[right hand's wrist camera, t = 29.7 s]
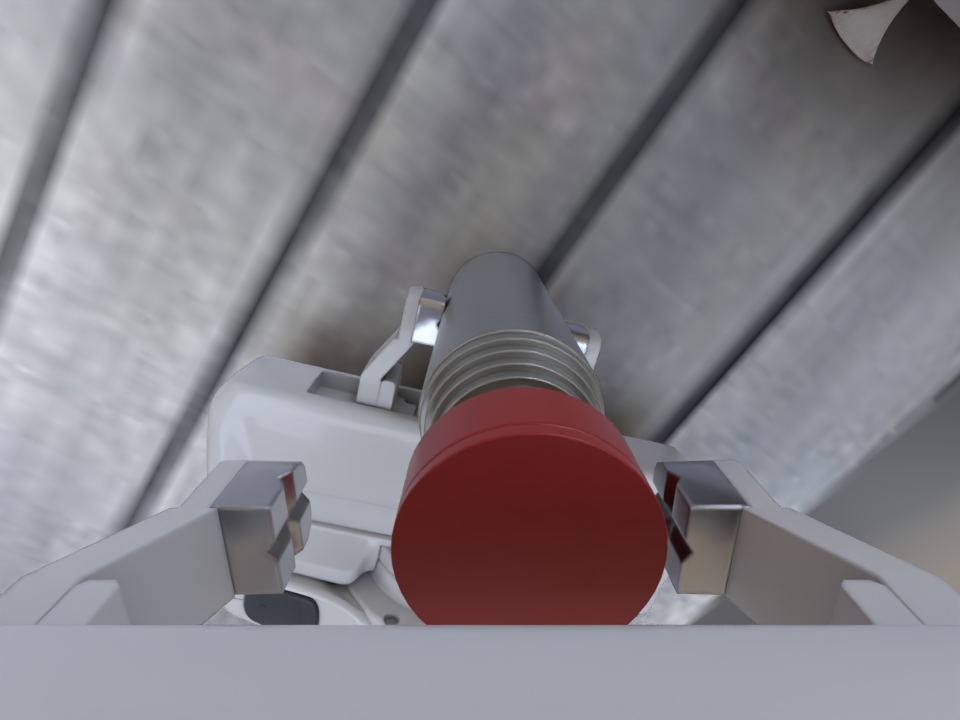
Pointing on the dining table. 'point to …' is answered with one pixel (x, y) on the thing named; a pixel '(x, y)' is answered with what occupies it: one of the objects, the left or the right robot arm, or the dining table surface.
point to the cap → (527, 517)
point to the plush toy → (876, 24)
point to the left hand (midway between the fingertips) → (504, 309)
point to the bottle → (502, 340)
